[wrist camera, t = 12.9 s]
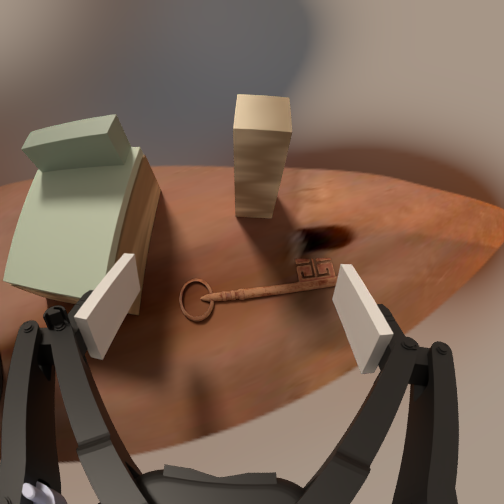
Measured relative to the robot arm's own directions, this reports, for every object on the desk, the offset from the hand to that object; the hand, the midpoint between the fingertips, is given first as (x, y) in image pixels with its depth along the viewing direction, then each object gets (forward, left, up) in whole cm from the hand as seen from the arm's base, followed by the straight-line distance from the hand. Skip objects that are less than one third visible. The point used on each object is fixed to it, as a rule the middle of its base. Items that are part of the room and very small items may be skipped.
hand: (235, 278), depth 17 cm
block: (+1, +10, -7) cm, 12 cm away
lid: (-15, +4, -1) cm, 16 cm away
